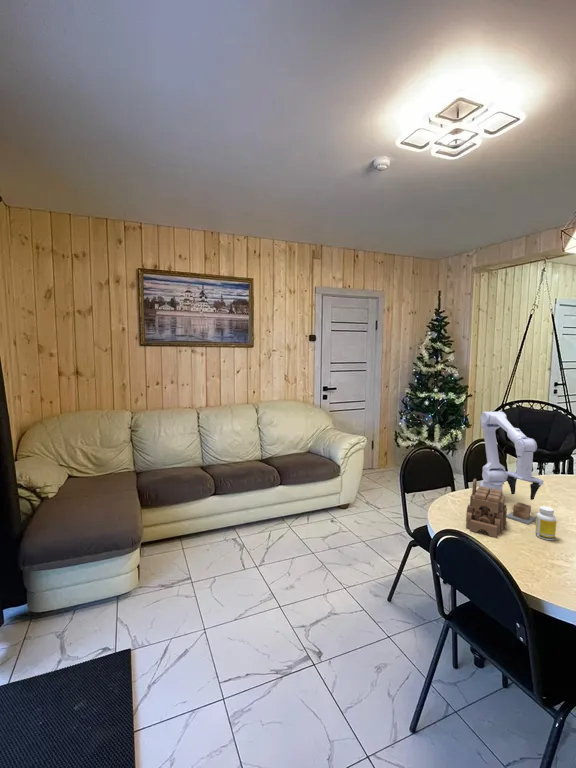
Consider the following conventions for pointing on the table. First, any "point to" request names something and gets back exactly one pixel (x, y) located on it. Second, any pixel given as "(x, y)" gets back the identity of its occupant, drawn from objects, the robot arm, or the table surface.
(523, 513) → the walnut cube
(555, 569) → the table surface
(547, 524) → the pill bottle
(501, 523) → the wooden puzzle
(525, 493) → the table surface
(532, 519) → the slate coaster
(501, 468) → the robot arm
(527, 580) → the table surface
